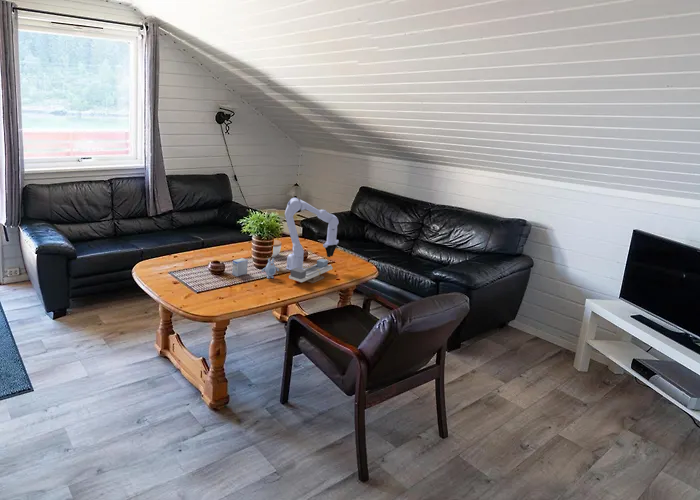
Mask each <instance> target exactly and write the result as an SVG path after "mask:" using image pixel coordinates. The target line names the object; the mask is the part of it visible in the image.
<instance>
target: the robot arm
mask: <svg viewBox="0 0 700 500" xmlns="http://www.w3.org/2000/svg"><path fill="white" fill-rule="evenodd" d="M303 210H307V211H309V212H310V213H311V214H314V215H316V217H317V218H318V219H319V220H322V221H323V222H325V223H328V225H327V232H326V233H327V234H326V241H325V243H323V244H322V247H323V248H324V249H325V252H326V257H328V258H331V257H333V256H334V253H335V251H336V249H337V247H338V244H339V239H337V235H338V225H339V223H340V222H339V218H338V217H337V216H336V215H335V214H333V213H330V212H328V211H327V209H318V208H316V207H314V206H313V205H311V204H310V203H308V202H307V201H304V200H302V199H299V198H298V197H292V198H290V200H289V201H288V202H287V204H286V208H285V211H284V216H285V221H286V224H287V227H288V231H289V236H290V239H291V243H292V253H289V254H288V255H287V257H286V267H285V269H287V270H289V271H291V269H294V268H299V269H305V268H306V267H305V268H304V267H303V265H304V254H305V251H304V248H303V247H304V246H303V245H302V244H301V242H300V238H299V234H298V231H297V227H296V223H295V218H294V215H295V214H296V213H297V212H298V211H303Z"/></svg>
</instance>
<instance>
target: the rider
mask: <svg viewBox="0 0 700 500" xmlns="http://www.w3.org/2000/svg"><path fill="white" fill-rule="evenodd" d="M328 263H329V260H327V259H324V258H320V259H317V260H316V264H317V267H319V268H323V267H325V266H327V265H329V264H328Z"/></svg>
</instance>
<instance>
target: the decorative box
mask: <svg viewBox="0 0 700 500" xmlns="http://www.w3.org/2000/svg"><path fill="white" fill-rule="evenodd" d="M281 248H282V241H281V240H278V239H274V245H273V255H272V257H271V258H275V257H277V256H278V255H279V254H280V252H281Z"/></svg>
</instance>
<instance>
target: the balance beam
mask: <svg viewBox="0 0 700 500" xmlns="http://www.w3.org/2000/svg"><path fill="white" fill-rule="evenodd" d="M332 270H333V266H332V264H327V266H325V267H323V268H319V267H317V263H315V264H313V265H310V266H307V267H305V269H299V268H294V269H291V270H290V275H288V279H290V280H294V281H296V282H298V283H303V282H308V283H311V284H314V283H316V282H319V281H321V280H324V279H325V276H323V275H322V274H324V273H325V274H326V273H327V272H329V271H332Z"/></svg>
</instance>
